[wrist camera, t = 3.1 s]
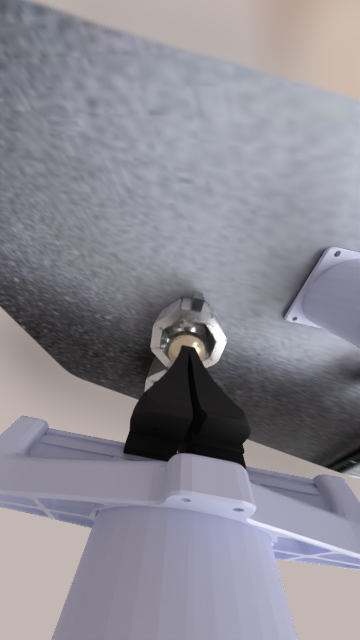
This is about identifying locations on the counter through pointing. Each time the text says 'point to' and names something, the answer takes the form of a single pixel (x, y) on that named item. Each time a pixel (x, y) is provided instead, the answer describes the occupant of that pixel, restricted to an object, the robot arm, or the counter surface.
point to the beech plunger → (187, 337)
